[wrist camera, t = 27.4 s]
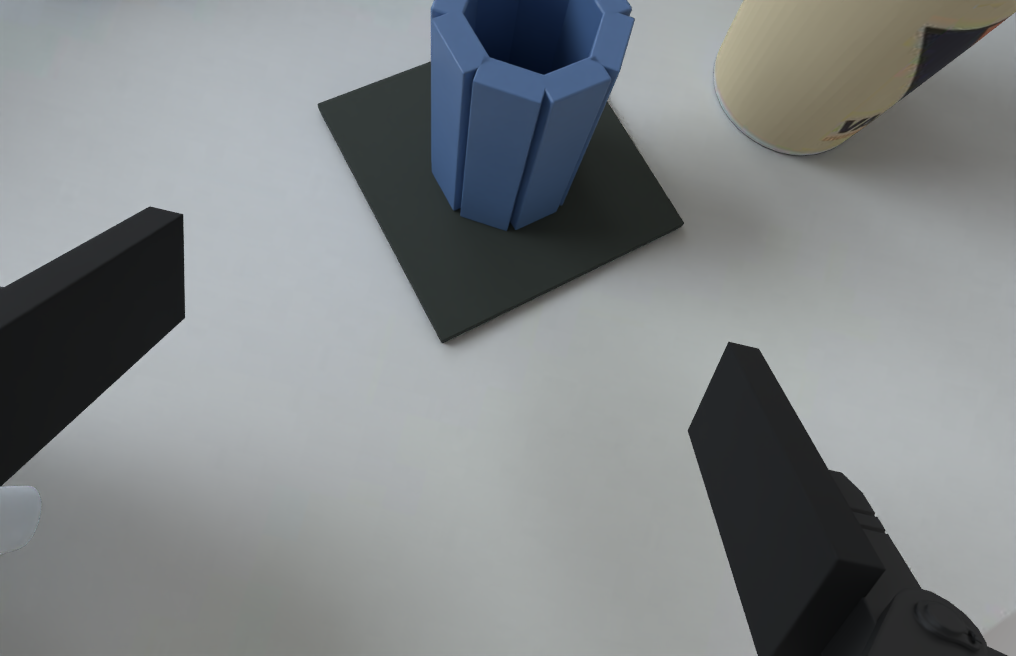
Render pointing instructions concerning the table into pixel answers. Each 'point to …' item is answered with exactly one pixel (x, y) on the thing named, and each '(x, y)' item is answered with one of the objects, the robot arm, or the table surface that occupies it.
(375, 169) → the mat
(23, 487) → the mug
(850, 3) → the cream lidded canister
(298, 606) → the table surface
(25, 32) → the table surface
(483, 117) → the sleeve
